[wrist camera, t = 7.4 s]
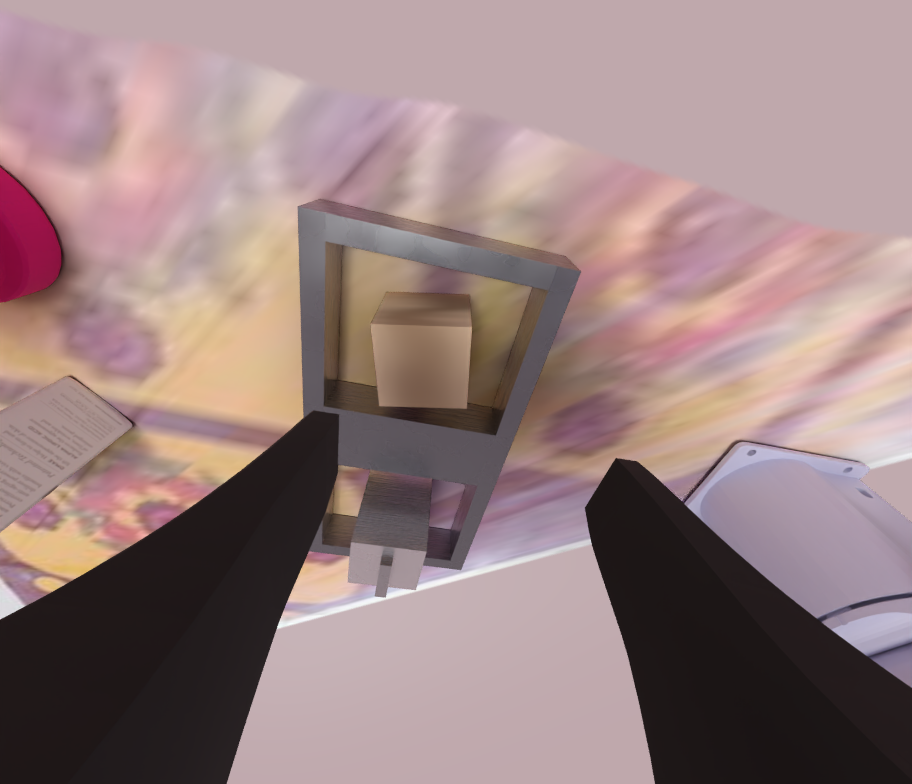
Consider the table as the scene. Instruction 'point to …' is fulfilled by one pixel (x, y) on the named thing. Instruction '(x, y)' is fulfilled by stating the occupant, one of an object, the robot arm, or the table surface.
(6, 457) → the skincare box
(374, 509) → the grey block with tab
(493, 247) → the grey slotted frame
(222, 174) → the table surface
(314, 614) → the table surface
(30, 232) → the pepper mill
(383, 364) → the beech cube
